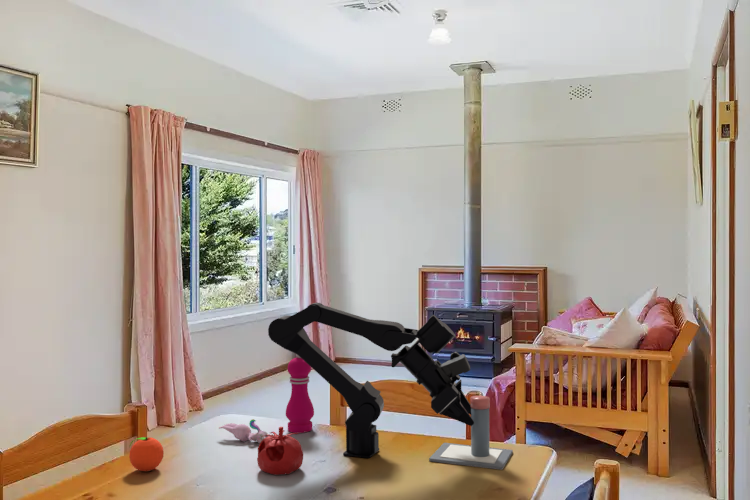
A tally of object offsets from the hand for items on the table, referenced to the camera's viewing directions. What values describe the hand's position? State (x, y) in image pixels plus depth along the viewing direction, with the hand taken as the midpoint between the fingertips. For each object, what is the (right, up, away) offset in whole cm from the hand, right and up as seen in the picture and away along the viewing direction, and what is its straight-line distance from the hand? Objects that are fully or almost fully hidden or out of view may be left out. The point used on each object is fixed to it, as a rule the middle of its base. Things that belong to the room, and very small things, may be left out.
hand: (472, 418), depth 150 cm
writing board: (0, -9, +1) cm, 9 cm away
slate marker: (+2, -8, 0) cm, 8 cm away
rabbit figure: (-53, -9, +14) cm, 55 cm away
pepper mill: (-41, -9, +23) cm, 48 cm away
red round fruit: (-42, -9, -7) cm, 43 cm away
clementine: (-70, -10, -6) cm, 71 cm away
